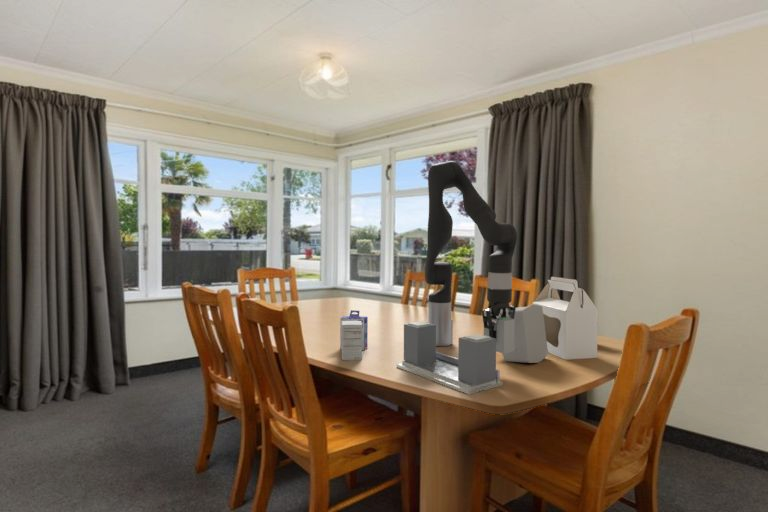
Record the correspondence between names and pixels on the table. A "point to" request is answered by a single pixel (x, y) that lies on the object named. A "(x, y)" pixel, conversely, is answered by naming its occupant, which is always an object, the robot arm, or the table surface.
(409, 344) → the block
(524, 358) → the electrical switch box
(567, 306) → the gable box
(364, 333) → the ink cartridge box
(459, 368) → the block
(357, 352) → the supplement box
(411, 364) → the rail base
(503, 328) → the block
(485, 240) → the robot arm
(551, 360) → the table surface
